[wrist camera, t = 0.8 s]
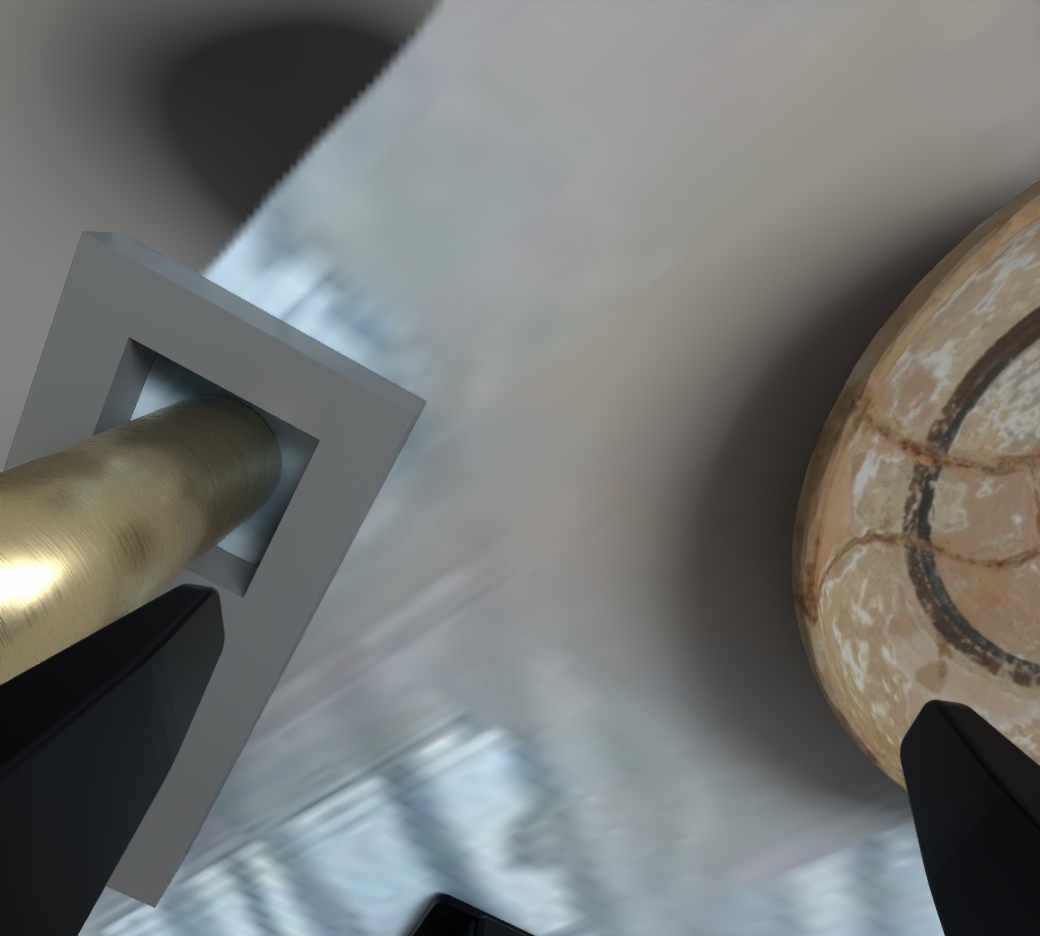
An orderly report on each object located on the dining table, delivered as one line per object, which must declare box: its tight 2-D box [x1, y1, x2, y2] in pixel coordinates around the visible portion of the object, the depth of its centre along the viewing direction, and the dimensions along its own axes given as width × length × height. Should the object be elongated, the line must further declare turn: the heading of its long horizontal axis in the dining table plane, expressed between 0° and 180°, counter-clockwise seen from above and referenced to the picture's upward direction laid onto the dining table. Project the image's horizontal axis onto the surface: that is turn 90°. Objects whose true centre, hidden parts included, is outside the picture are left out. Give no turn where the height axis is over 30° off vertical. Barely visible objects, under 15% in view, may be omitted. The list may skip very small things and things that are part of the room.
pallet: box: [3, 231, 427, 908], centre depth 25 cm, size 24×11×2 cm, turn 150°
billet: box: [0, 395, 282, 685], centre depth 18 cm, size 4×4×13 cm
